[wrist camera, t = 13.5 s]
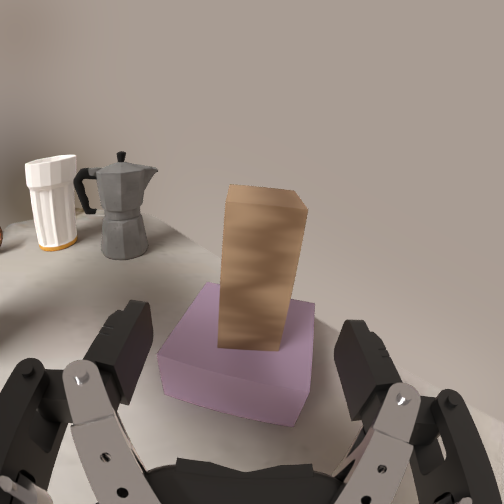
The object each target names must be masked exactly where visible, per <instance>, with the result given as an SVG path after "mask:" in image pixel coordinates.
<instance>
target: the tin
mask: <svg viewBox="0 0 504 504" xmlns="http://www.w3.org/2000/svg"><path fill="white" fill-rule="evenodd" d="M2 239H3V235H2V230H1V227H0V246H1V244H2Z"/></svg>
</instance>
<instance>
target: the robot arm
mask: <svg viewBox="0 0 504 504" xmlns="http://www.w3.org/2000/svg"><path fill="white" fill-rule="evenodd" d="M152 342H153V326H152V319H151V311H150V305H149V303H148V302H142V301H136V300H130V301H129V302H128V304H127V306H126V307H125V309H124V311H121V310H117V311H116V312H115V313H113V314H112V315H110V316H109V317H108V319H107V320H106V322H105V324H104V326H103V327H102V328H101V330H100V332H99V334H98V335H97V336H96V338H95V340H94V341H93V343H92V345H91V346H90V348H89V350H88V351H87V353H86V355H85V356H84V358H83V360H77V361H74V362H72V363H70V364H69V365H68V366H67V367H66V368H65V369H64V370H51V369H45V368H44V366H43V364H42V363H41V362H40V361H39V360H38V359H35V358H27V359H24V360H22V361H21V362H19V363H18V364H17V365H16V367H15V368H14V370H13V372H12V373H11V375H10V377H9V378H8V380H7V382H6V384H5V385H4V387H3V389H2V391H1V393H0V504H53V501H52V499H51V497H50V495H49V494H48V493H47V489H48V485H49V481H50V478H51V474H52V471H53V467H54V464H55V461H56V457H57V454H58V451H59V448H60V445H61V442H62V439H63V436H64V433H65V431H66V428H67V425H68V423H73V425H71V433H72V436H73V440H74V443H75V446H76V449H77V452H78V455H79V458H80V460H81V463H82V466H83V468H84V471H85V473H86V476H87V478H88V481H89V483H90V485H91V488H92V490H93V492H94V494H95V496H96V499H97V501H98V503H96V504H391V503H392V501H393V498H394V496H395V494H396V492H397V490H398V487H399V485H400V483H401V480H402V478H403V475H404V473H405V470H406V468H407V465H408V462H409V461H410V465H411V469H412V473H413V477H414V482H415V486H416V491H417V495H418V500H419V504H502V500H501V496H500V493H499V489H498V486H497V482H496V479H495V476H494V473H493V470H492V467H491V464H490V461H489V458H488V456H487V453H486V450H485V448H484V445H483V443H482V440H481V438H480V435H479V433H478V431H477V428H476V426H475V424H474V421H473V419H472V417H471V415H470V412H469V410H468V408H467V406H466V404H465V402H464V400H463V398H462V397H461V395H460V394H459V393H458V392H456V391H454V390H451V389H445V390H442V391H441V392H440V393H439V394H438V396H437V397H436V398H435V397H426V396H420V395H419V393H418V391H417V390H416V389H415V388H414V387H413V386H411V385H409V384H407V383H403V382H402V380H401V378H400V376H399V374H398V372H397V370H396V368H395V365H394V363H393V361H392V359H391V358H390V357H389V353H388V351H387V350H386V347H385V345H384V343H383V341H382V340H381V339H380V338H379V337H378V336H377V335H376V334H375V333H374V332H370V331H369V329H368V327H367V325H366V323H365V322H364V320H346V321H345V322H344V324H343V327H342V329H341V332H340V335H339V337H338V340H337V342H336V345H335V348H334V360H335V364H336V367H337V371H338V374H339V377H340V381H341V384H342V388H343V391H344V395H345V398H346V402H347V406H348V409H349V413H350V417H351V420H352V421H356V420H362V423H363V425H362V426H361V428H360V430H359V432H358V433H357V435H356V437H355V439H354V441H353V443H352V444H351V446H350V448H349V450H348V451H347V453H346V455H345V457H344V458H343V460H342V461H341V463H340V464H339V466H338V467H337V468H336V469H335V471H334V472H333V473H332V475H331V476H330V475H327V474H324V473H321V472H317V471H313V467H312V464H301V465H280V466H275V467H271V468H266V469H262V470H257V471H252V472H241V471H238V470H234V469H230V468H227V467H224V466H220V465H217V464H214V463H211V462H203V461H196V460H189V459H182V458H177V462H176V465H166V466H161V467H157V468H154V469H151V470H149V471H147V470H146V468H145V466H144V464H143V463H142V461H141V459H140V457H139V456H138V454H137V452H136V450H135V448H134V447H133V445H132V443H131V440H130V438H129V436H128V434H127V432H126V430H125V428H124V426H123V423H122V421H121V419H120V417H119V414H118V412H117V410H118V407H119V404H120V403H121V404H125V405H129V404H130V401H131V398H132V396H133V393H134V390H135V387H136V385H137V382H138V379H139V377H140V374H141V371H142V369H143V366H144V363H145V361H146V358H147V356H148V353H149V350H150V348H151V345H152ZM440 435H441V438H442V441H443V444H444V447H445V450H446V459H445V461H444V458H443V454H442V451H441V448H440V445H439V442H438V439H437V438H438V437H439V436H440Z"/></svg>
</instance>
